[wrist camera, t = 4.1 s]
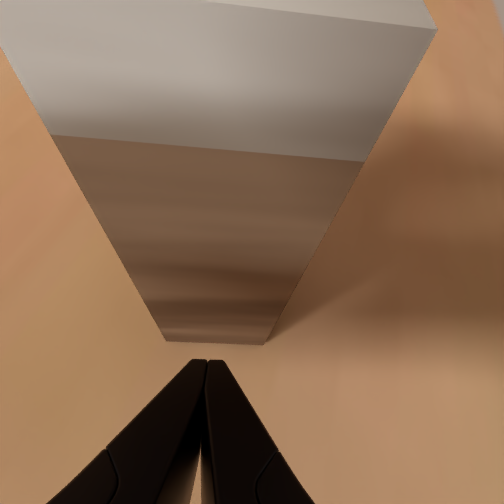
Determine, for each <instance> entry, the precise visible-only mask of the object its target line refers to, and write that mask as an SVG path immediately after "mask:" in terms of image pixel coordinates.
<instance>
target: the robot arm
mask: <svg viewBox="0 0 504 504" xmlns="http://www.w3.org/2000/svg"><path fill="white" fill-rule="evenodd" d="M200 449H201V504H315V503H314V502H313V500H312V499H311V498H310V496H309V495H308V494H307V492H306V491H305V490H304V488H303V487H302V485H301V484H300V482H299V481H298V479H297V478H296V476H295V475H294V473H293V472H292V470H291V469H290V467H289V465H288V464H287V462H286V461H285V459H284V457H283V456H282V454H281V452H279V450H278V448H277V446H276V444H275V443H274V441H273V440H272V438H271V436H270V435H269V433H268V431H267V430H266V428H265V427H264V425H263V423H262V422H261V420H260V418H259V417H258V415H257V414H256V412H255V410H254V409H253V407H252V405H251V404H250V402H249V401H248V399H247V397H246V396H245V394H244V392H243V391H242V389H241V387H240V386H239V384H238V383H237V381H236V379H235V378H234V376H233V374H232V373H231V371H230V370H229V368H228V366H227V365H226V363H225V362H224V361H223V360H209V361H208V362H207V360H205V359H192V360H190V361H189V363H188V364H187V365H186V366H185V367H184V368H183V369H182V370H181V371H180V372H179V373H178V374H177V375H176V376H175V377H174V378H173V379H172V380H171V381H170V382H169V383H168V384H167V385H166V386H165V387H164V388H163V389H162V390H161V391H160V392H159V393H158V394H157V395H156V396H155V397H154V398H153V399H152V400H151V401H150V402H149V403H148V404H147V405H146V406H145V407H144V408H143V409H142V410H141V412H140V413H139V414H138V415H137V416H136V417H135V418H134V419H133V420H132V421H131V422H130V423H129V424H128V425H127V426H126V427H125V428H124V429H123V430H122V431H121V432H120V433H119V434H118V435H117V436H116V437H115V438H114V439H113V440H112V441H111V442H110V443H109V444H108V445H107V446H106V449H103V450H102V451H101V452H100V453H99V454H98V455H97V456H96V457H95V458H94V459H93V460H92V461H91V462H90V463H89V464H88V465H87V466H86V467H85V468H84V469H83V470H82V471H81V472H80V473H79V474H78V475H77V476H76V477H75V478H74V479H73V480H72V481H71V482H70V483H69V484H68V485H67V486H65V487H64V488H63V489H62V490H61V491H60V492H59V493H58V494H57V495H55V496H54V497H53V498H52V499H51V500H50V501H49V502H48V503H46V504H190V499H191V495H192V490H193V485H194V481H195V476H196V471H197V467H198V462H199V456H200Z"/></svg>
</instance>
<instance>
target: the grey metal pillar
mask: <svg viewBox="0 0 504 504" xmlns="http://www.w3.org/2000/svg"><path fill="white" fill-rule="evenodd" d="M437 30H438V29H437V27H436V25H435V23H434V21H433V19H432V17H431V15H430V13H429V11H428V9H427V7H426V5H425V3H424V1H423V0H0V46H1V48H2V50H3V52H4V54H5V55H6V57H7V59H8V61H9V62H10V64H11V66H12V68H13V70H14V71H15V73H16V75H17V77H18V78H19V80H20V82H21V84H22V86H23V87H24V89H25V91H26V93H27V94H28V96H29V98H30V100H31V102H32V103H33V105H34V107H35V109H36V110H37V112H38V114H39V116H40V118H41V119H42V121H43V123H44V125H45V126H46V128H47V130H48V132H49V134H50V135H51V137H52V139H53V141H54V142H55V144H56V146H57V148H58V150H59V151H60V153H61V155H62V157H63V158H64V160H65V162H66V164H67V166H68V167H69V169H70V171H71V173H72V175H73V176H74V178H75V180H76V182H77V183H78V185H79V187H80V189H81V191H82V192H83V194H84V196H85V198H86V199H87V201H88V203H89V205H90V207H91V208H92V210H93V212H94V214H95V215H96V217H97V219H98V221H99V223H100V224H101V226H102V228H103V230H104V231H105V233H106V235H107V237H108V239H109V240H110V242H111V244H112V246H113V247H114V249H115V251H116V253H117V255H118V256H119V258H120V260H121V262H122V263H123V265H124V267H125V269H126V271H127V272H128V274H129V276H130V278H131V279H132V281H133V283H134V285H135V287H136V288H137V290H138V292H139V294H140V295H141V297H142V299H143V301H144V303H145V304H146V306H147V308H148V310H149V311H150V313H151V315H152V317H153V319H154V320H155V322H156V324H157V326H158V327H159V329H160V331H161V333H162V335H163V336H164V338H165V340H166V341H176V342H200V343H225V344H250V345H264V343H265V342H266V340H267V338H268V336H269V334H270V333H271V331H272V329H273V327H274V325H275V324H276V322H277V320H278V318H279V316H280V314H281V313H282V311H283V309H284V307H285V305H286V304H287V302H288V300H289V298H290V296H291V295H292V293H293V291H294V289H295V287H296V286H297V284H298V282H299V280H300V278H301V276H302V275H303V273H304V271H305V269H306V267H307V266H308V264H309V262H310V260H311V258H312V257H313V255H314V253H315V251H316V249H317V248H318V246H319V244H320V242H321V240H322V239H323V237H324V235H325V233H326V231H327V229H328V228H329V226H330V224H331V222H332V220H333V219H334V217H335V215H336V213H337V211H338V210H339V208H340V206H341V204H342V202H343V201H344V199H345V197H346V195H347V193H348V191H349V190H350V188H351V186H352V184H353V182H354V181H355V179H356V177H357V175H358V173H359V172H360V170H361V168H362V166H363V164H364V163H365V161H366V159H367V157H368V155H369V153H370V152H371V150H372V148H373V146H374V144H375V143H376V141H377V139H378V137H379V135H380V134H381V132H382V130H383V128H384V126H385V125H386V123H387V121H388V119H389V117H390V116H391V114H392V112H393V110H394V108H395V106H396V105H397V103H398V101H399V99H400V97H401V96H402V94H403V92H404V90H405V88H406V87H407V85H408V83H409V81H410V79H411V78H412V76H413V74H414V72H415V70H416V68H417V67H418V65H419V63H420V61H421V59H422V58H423V56H424V54H425V52H426V50H427V49H428V47H429V45H430V43H431V41H432V40H433V38H434V36H435V34H436V32H437Z"/></svg>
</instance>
